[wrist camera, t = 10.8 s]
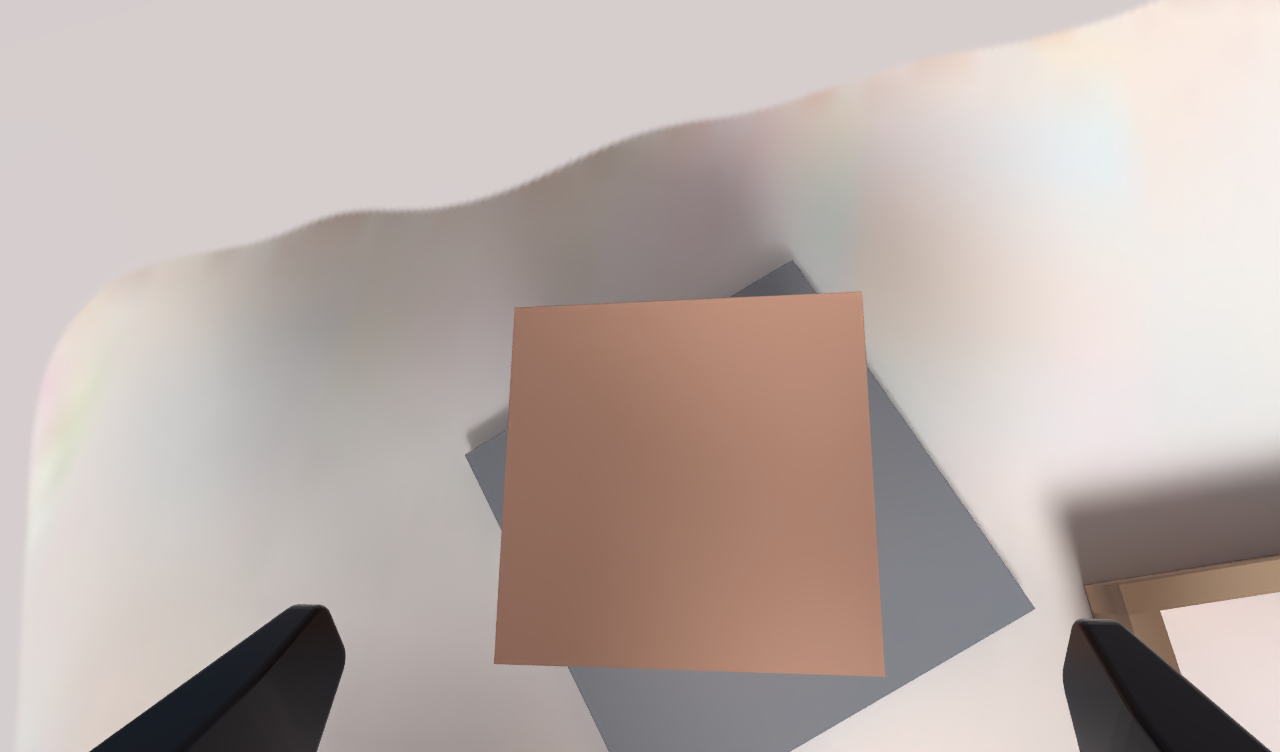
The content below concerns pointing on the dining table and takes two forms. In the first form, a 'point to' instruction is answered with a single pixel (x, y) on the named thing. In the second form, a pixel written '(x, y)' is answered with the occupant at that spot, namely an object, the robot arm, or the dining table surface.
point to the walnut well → (1179, 595)
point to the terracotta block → (691, 488)
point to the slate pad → (909, 591)
